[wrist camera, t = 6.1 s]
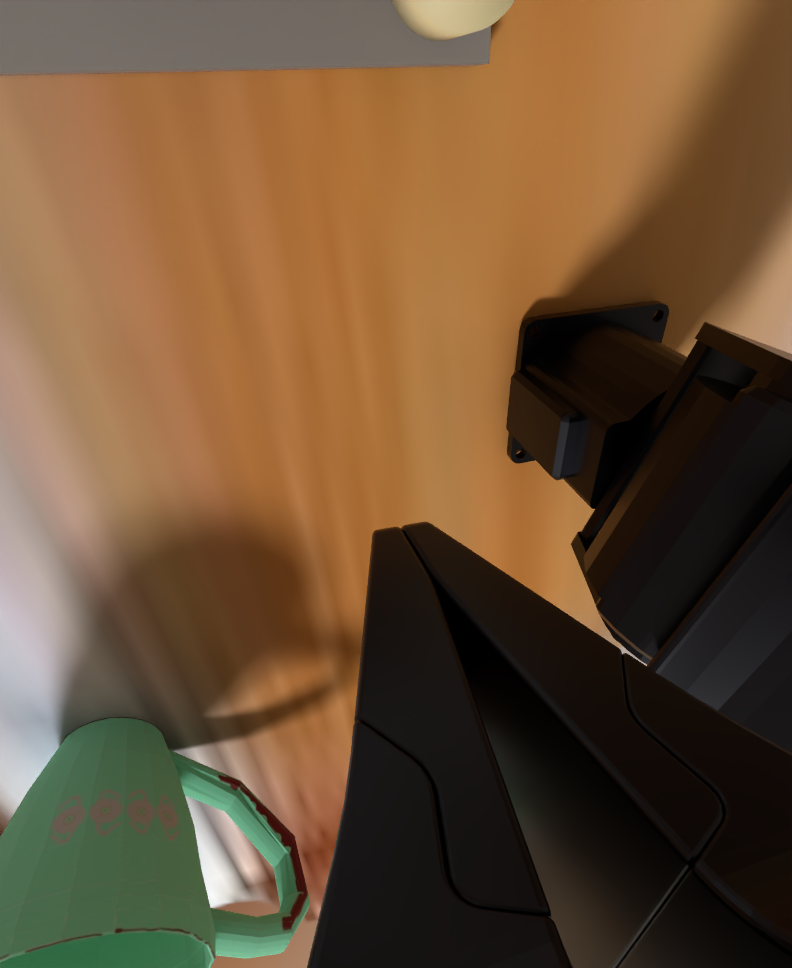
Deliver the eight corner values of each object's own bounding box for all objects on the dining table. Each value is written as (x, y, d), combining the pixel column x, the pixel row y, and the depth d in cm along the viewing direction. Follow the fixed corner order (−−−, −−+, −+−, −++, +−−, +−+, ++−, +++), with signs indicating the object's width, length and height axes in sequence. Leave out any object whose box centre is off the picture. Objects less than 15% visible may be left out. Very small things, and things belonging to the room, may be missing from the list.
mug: (-19, 801, 28) (-110, 1079, 20) (24, 674, 24) (-66, 952, 16) (256, 800, 35) (271, 1004, 27) (322, 701, 31) (362, 904, 23)
